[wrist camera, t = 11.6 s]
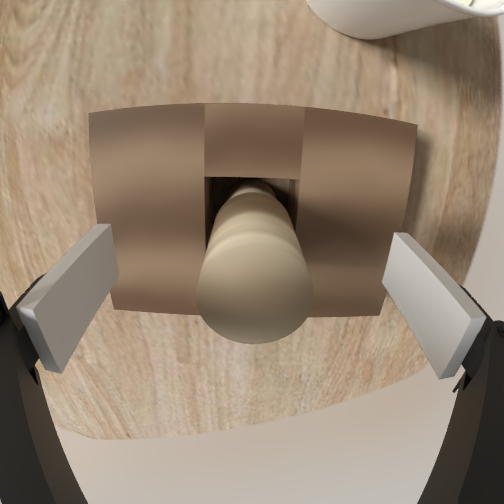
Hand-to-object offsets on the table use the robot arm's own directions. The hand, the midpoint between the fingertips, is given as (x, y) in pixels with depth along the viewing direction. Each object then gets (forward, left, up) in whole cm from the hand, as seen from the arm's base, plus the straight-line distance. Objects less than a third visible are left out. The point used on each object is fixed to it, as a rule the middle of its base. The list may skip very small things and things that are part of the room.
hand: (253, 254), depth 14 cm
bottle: (0, 0, -9) cm, 9 cm away
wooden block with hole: (0, 0, -9) cm, 9 cm away
